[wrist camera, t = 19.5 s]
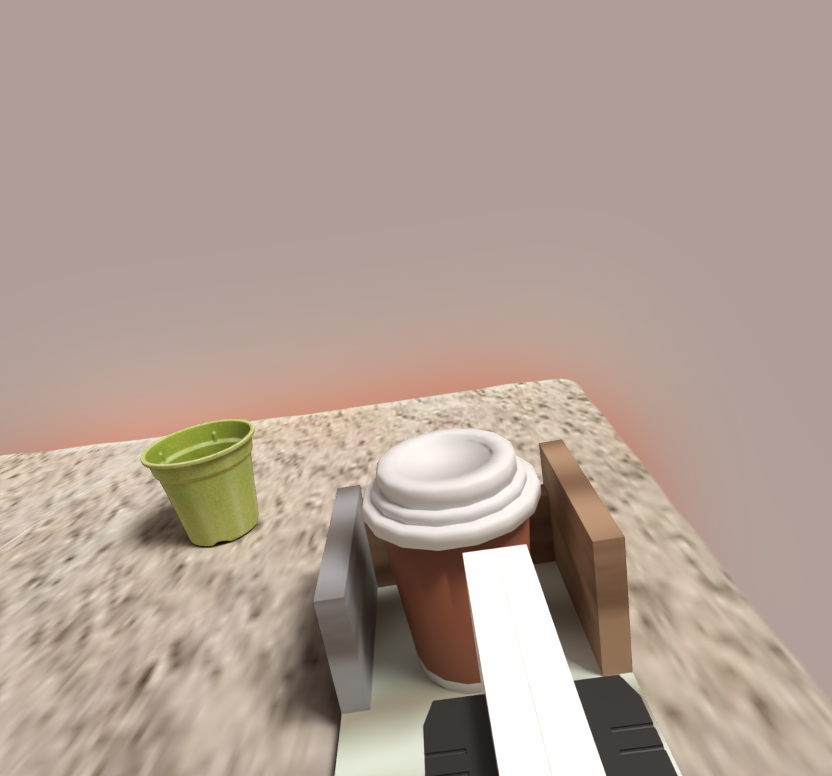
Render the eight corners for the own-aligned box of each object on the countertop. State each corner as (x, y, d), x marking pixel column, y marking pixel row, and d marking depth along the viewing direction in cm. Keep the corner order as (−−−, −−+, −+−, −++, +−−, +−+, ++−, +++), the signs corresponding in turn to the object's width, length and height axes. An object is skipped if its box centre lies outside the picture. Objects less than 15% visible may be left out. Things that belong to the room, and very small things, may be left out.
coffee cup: (378, 713, 30) (330, 507, 27) (410, 595, 39) (378, 426, 35) (561, 718, 28) (537, 496, 25) (554, 593, 37) (535, 413, 33)
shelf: (789, 1021, 18) (801, 811, 16) (308, 1082, 19) (236, 888, 16) (572, 557, 42) (562, 439, 39) (360, 589, 42) (334, 474, 39)
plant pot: (147, 549, 52) (116, 459, 50) (227, 496, 60) (204, 415, 57) (221, 568, 47) (190, 470, 45) (298, 508, 55) (276, 421, 52)
